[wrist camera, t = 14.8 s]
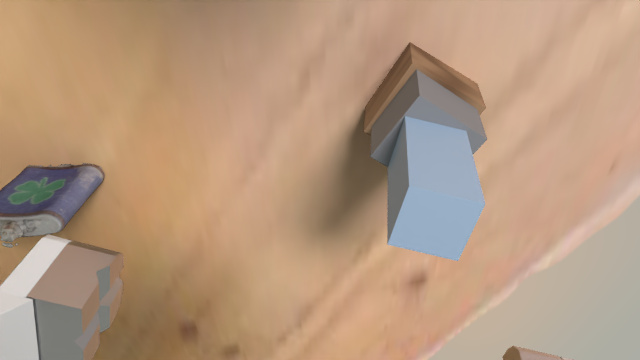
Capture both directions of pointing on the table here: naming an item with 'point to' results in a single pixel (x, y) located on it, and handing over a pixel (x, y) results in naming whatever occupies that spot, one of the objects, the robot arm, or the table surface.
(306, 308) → the table surface
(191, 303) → the table surface
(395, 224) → the pillar
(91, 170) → the flask
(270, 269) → the table surface
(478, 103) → the tower base
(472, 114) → the tower middle
